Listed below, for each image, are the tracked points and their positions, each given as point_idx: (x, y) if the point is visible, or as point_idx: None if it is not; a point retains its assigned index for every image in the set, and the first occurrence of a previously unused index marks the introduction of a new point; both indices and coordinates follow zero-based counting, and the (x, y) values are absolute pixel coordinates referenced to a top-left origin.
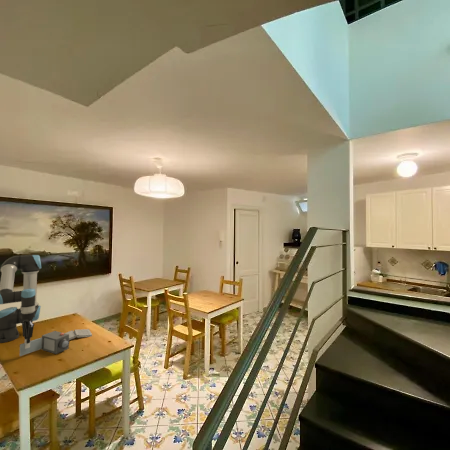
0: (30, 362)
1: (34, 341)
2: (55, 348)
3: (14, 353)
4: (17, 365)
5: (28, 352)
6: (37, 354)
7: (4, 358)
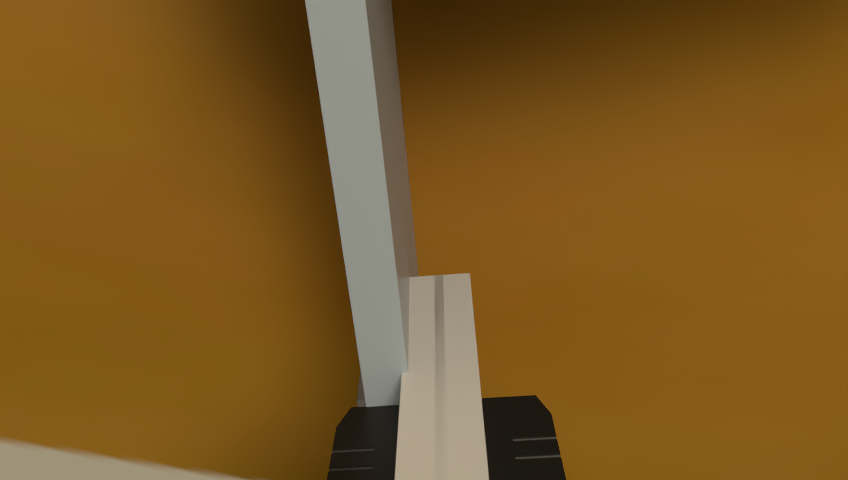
0: (810, 265)
1: (390, 193)
2: None
3: (56, 327)
4: (701, 420)
5: (412, 221)
6: (538, 47)
7: (187, 470)
